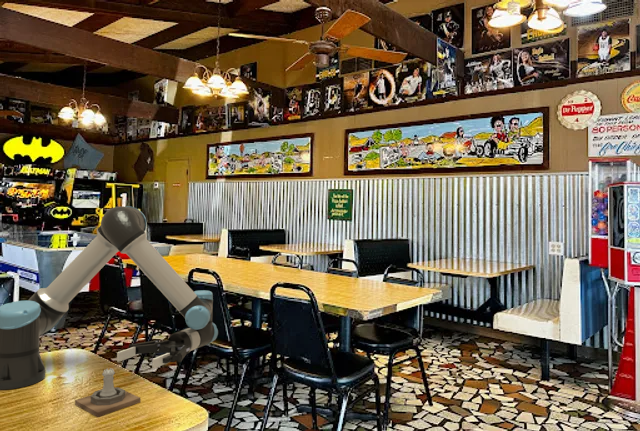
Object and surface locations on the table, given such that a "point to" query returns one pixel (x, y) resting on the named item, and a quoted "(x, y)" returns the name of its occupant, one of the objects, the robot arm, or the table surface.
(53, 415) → the table surface
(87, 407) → the socket board
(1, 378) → the robot arm
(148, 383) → the table surface
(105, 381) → the rook chess piece
